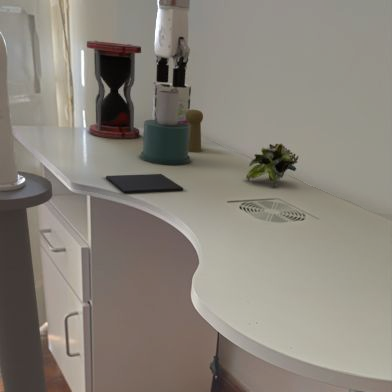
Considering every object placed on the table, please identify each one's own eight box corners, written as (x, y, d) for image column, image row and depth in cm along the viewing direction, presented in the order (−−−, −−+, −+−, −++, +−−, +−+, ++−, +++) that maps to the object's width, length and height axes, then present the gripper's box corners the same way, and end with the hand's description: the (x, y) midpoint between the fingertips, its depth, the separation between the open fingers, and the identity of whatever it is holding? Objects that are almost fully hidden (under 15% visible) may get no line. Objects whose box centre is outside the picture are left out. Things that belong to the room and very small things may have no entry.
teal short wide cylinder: (152, 165, 123) (154, 128, 118) (133, 153, 132) (134, 118, 127) (198, 164, 128) (201, 128, 123) (176, 153, 138) (178, 119, 133)
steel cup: (162, 125, 122) (163, 92, 118) (153, 121, 126) (155, 89, 122) (180, 125, 125) (182, 93, 120) (171, 122, 128) (173, 90, 124)
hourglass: (117, 141, 144) (117, 45, 131) (78, 131, 151) (74, 39, 137) (148, 135, 156) (151, 47, 142) (111, 127, 163) (111, 41, 149)
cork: (205, 150, 145) (208, 111, 139) (194, 152, 141) (197, 112, 135) (189, 146, 148) (192, 107, 141) (177, 148, 143) (180, 108, 137)
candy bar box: (184, 140, 155) (188, 84, 146) (187, 143, 151) (192, 86, 142) (150, 138, 152) (152, 81, 143) (153, 142, 148) (155, 83, 139)
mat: (124, 193, 100) (124, 190, 99) (106, 178, 108) (106, 175, 108) (183, 190, 106) (183, 187, 106) (161, 176, 114) (161, 173, 114)
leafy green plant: (267, 200, 125) (297, 162, 122) (279, 205, 115) (312, 164, 112) (235, 172, 121) (266, 132, 118) (245, 175, 111) (279, 131, 108)
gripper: (145, 0, 115) (143, 79, 125) (175, 0, 103) (171, 88, 113) (172, 3, 118) (169, 81, 128) (205, 4, 106) (198, 89, 116)
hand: (170, 84), depth 120 cm, fingers open, 9 cm apart
